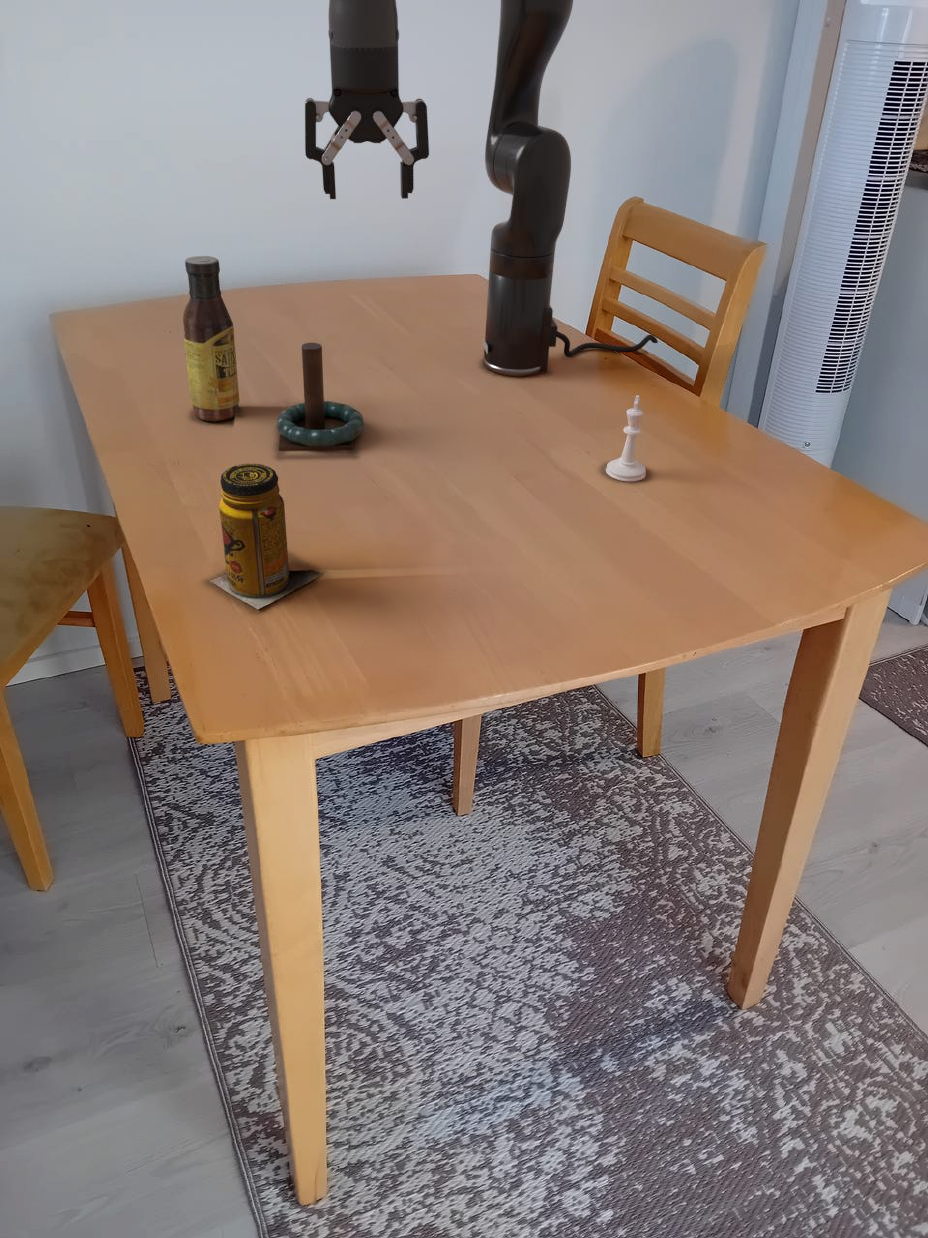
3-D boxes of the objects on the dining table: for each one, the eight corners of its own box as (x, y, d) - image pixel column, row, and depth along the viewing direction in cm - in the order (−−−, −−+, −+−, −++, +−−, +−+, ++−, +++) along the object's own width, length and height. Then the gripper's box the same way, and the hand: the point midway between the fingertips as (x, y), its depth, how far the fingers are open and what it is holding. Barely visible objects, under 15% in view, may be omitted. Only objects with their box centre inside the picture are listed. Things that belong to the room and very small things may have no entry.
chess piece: (648, 468, 122) (661, 392, 117) (641, 484, 118) (654, 407, 113) (610, 460, 123) (621, 385, 118) (601, 476, 120) (612, 399, 114)
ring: (361, 412, 128) (361, 398, 127) (366, 448, 120) (365, 433, 119) (278, 413, 127) (277, 398, 126) (276, 449, 118) (275, 434, 117)
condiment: (209, 582, 97) (195, 473, 90) (275, 550, 102) (267, 445, 95) (257, 611, 93) (247, 500, 86) (323, 577, 99) (318, 469, 92)
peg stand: (350, 426, 128) (348, 332, 121) (352, 456, 121) (350, 359, 114) (281, 427, 127) (274, 332, 120) (279, 457, 120) (272, 359, 113)
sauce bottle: (229, 426, 127) (213, 269, 115) (184, 420, 127) (164, 264, 116) (248, 407, 132) (235, 255, 120) (205, 401, 133) (188, 250, 121)
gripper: (424, 37, 111) (424, 189, 120) (298, 35, 109) (307, 190, 118) (432, 45, 105) (431, 204, 114) (298, 43, 103) (308, 205, 112)
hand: (368, 197), depth 116 cm, fingers open, 8 cm apart
